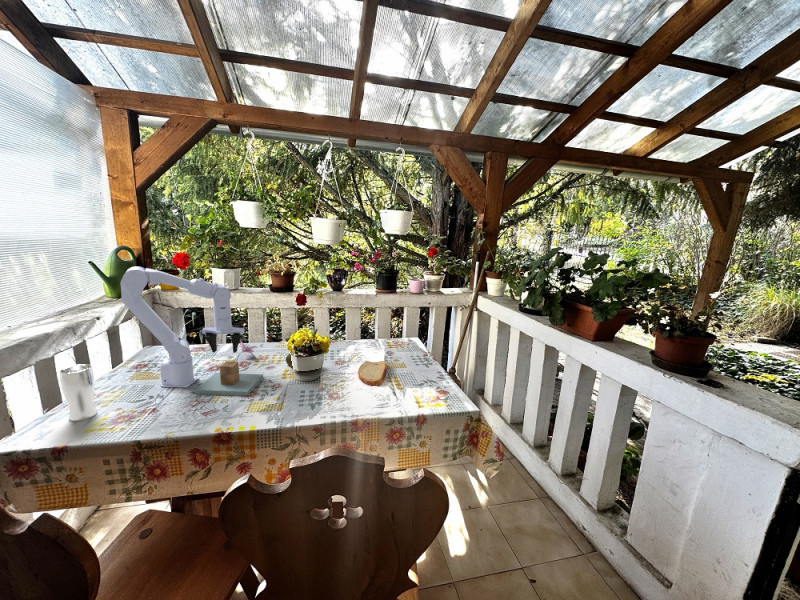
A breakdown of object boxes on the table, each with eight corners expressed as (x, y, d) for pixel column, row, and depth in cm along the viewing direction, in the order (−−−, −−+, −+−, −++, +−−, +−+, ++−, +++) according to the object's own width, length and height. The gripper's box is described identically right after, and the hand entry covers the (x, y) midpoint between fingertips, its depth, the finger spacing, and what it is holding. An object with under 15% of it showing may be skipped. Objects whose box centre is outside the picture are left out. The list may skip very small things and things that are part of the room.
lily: (253, 366, 142) (262, 344, 144) (224, 357, 138) (234, 335, 140) (253, 364, 153) (261, 344, 155) (226, 356, 149) (235, 335, 151)
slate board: (194, 393, 115) (194, 389, 114) (216, 376, 128) (215, 372, 128) (247, 395, 115) (247, 391, 115) (263, 377, 129) (263, 374, 129)
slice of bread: (374, 389, 124) (374, 380, 124) (343, 374, 136) (343, 365, 135) (405, 375, 138) (406, 367, 137) (375, 362, 149) (375, 354, 149)
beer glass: (80, 409, 102) (73, 363, 99) (105, 409, 103) (98, 363, 100) (60, 422, 96) (51, 373, 93) (86, 422, 96) (78, 373, 93)
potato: (317, 375, 134) (316, 356, 132) (284, 374, 133) (283, 355, 131) (320, 366, 142) (320, 348, 140) (289, 366, 141) (289, 348, 139)
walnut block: (220, 384, 119) (219, 366, 117) (227, 379, 123) (225, 361, 122) (233, 385, 119) (232, 366, 118) (239, 379, 123) (238, 361, 122)
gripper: (197, 320, 121) (200, 355, 124) (238, 320, 122) (240, 355, 125) (206, 315, 128) (209, 348, 131) (245, 315, 129) (247, 349, 132)
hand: (224, 351), depth 128 cm, fingers open, 7 cm apart
